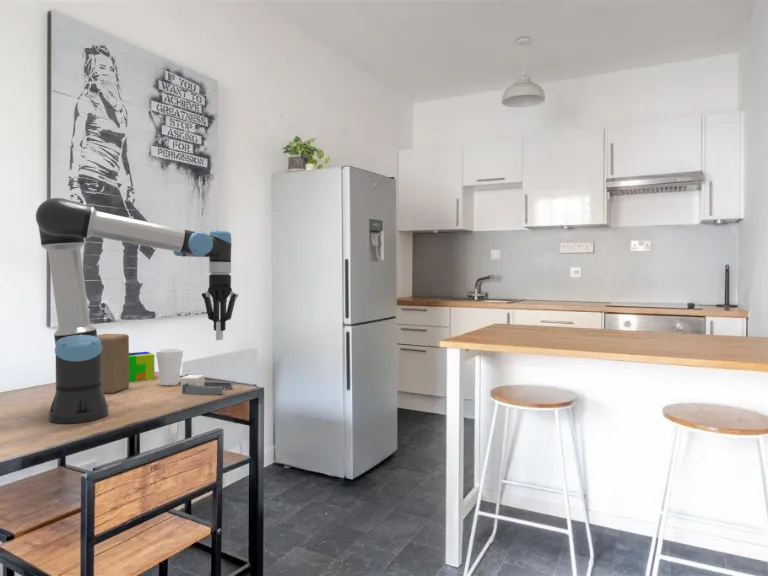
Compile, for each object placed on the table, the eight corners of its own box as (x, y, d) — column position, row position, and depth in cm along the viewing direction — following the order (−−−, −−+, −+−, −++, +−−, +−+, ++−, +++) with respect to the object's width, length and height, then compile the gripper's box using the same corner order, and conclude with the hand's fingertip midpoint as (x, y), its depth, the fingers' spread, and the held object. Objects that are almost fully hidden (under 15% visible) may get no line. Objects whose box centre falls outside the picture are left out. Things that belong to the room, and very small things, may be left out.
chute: (220, 395, 182) (220, 386, 182) (182, 393, 183) (182, 384, 183) (232, 388, 192) (232, 380, 192) (196, 387, 194) (196, 378, 193)
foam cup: (159, 387, 192) (159, 352, 192) (153, 383, 200) (153, 349, 199) (185, 384, 198) (185, 350, 197) (179, 380, 205) (179, 347, 205)
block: (197, 392, 185) (197, 378, 185) (181, 391, 186) (181, 378, 185) (204, 388, 191) (204, 375, 191) (189, 388, 192) (189, 374, 191)
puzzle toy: (147, 375, 215) (147, 351, 215) (154, 379, 208) (154, 354, 207) (120, 378, 209) (120, 353, 209) (127, 382, 201) (127, 357, 201)
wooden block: (130, 387, 192) (129, 333, 191) (113, 394, 182) (113, 337, 181) (104, 387, 193) (104, 333, 192) (86, 393, 183) (86, 336, 182)
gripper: (241, 274, 189) (240, 339, 190) (207, 273, 190) (206, 338, 191) (233, 274, 182) (232, 341, 182) (197, 273, 183) (197, 340, 183)
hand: (219, 339), depth 187 cm, fingers closed
